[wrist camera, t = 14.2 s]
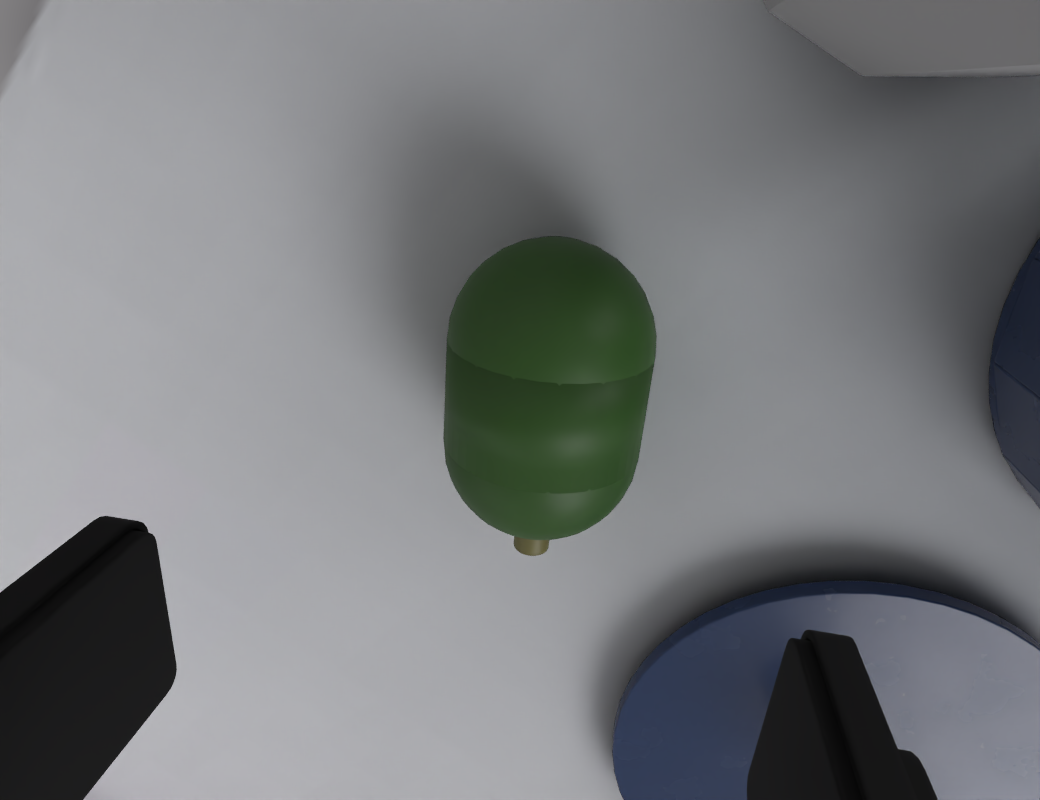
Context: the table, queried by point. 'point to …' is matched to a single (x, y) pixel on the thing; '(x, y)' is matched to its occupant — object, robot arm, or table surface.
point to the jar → (921, 35)
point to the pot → (1019, 377)
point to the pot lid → (892, 671)
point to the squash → (547, 388)
